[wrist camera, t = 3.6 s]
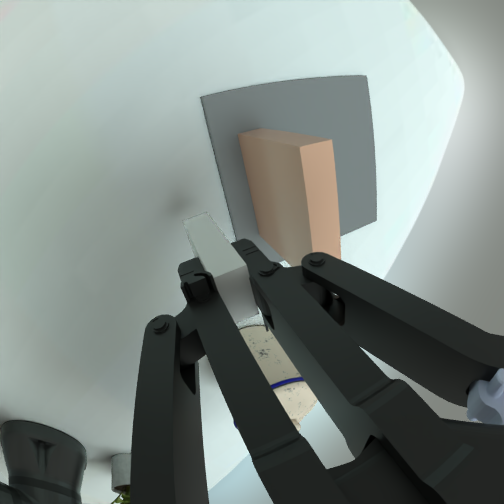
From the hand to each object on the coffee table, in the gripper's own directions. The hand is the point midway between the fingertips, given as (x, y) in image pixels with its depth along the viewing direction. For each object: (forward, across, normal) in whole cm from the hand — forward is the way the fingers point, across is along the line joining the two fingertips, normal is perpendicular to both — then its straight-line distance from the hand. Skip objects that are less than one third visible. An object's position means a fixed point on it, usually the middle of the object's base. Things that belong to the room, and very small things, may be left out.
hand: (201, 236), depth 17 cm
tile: (+6, -6, 0) cm, 8 cm away
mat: (+6, -11, 0) cm, 13 cm away
